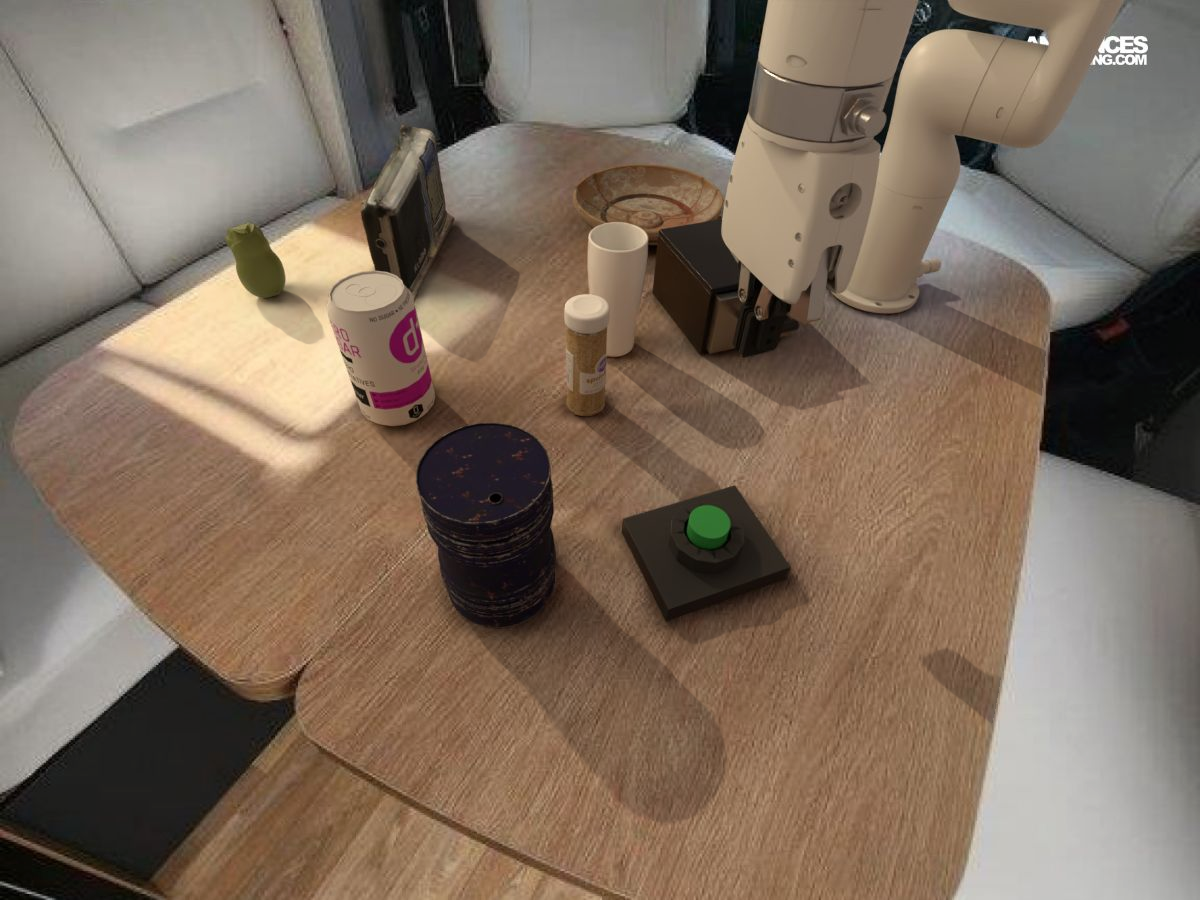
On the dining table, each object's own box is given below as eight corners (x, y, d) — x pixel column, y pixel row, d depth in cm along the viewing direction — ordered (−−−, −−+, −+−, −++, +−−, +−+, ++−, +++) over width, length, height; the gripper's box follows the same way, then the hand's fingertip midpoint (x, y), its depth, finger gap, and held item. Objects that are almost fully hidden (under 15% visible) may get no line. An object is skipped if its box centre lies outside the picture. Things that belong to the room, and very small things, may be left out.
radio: (410, 306, 84) (385, 198, 73) (350, 298, 85) (316, 190, 74) (468, 224, 100) (454, 125, 89) (416, 218, 101) (397, 119, 90)
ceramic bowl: (625, 179, 113) (627, 150, 109) (743, 218, 104) (749, 189, 100) (544, 228, 100) (542, 198, 96) (670, 278, 91) (674, 247, 87)
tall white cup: (634, 366, 77) (644, 255, 66) (581, 358, 78) (581, 247, 67) (643, 334, 81) (653, 225, 70) (592, 326, 82) (594, 218, 71)
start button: (715, 512, 57) (718, 500, 56) (734, 543, 55) (738, 531, 54) (679, 523, 56) (682, 511, 55) (698, 555, 54) (701, 543, 53)
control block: (731, 498, 63) (738, 472, 60) (785, 580, 57) (796, 555, 54) (621, 532, 60) (623, 506, 57) (665, 622, 54) (670, 598, 51)
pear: (256, 310, 83) (225, 240, 75) (241, 292, 85) (210, 223, 78) (298, 295, 85) (271, 226, 78) (282, 278, 88) (255, 210, 81)
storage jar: (434, 552, 58) (401, 441, 47) (535, 520, 61) (526, 407, 50) (462, 646, 52) (432, 543, 41) (573, 605, 55) (572, 499, 44)
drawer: (807, 355, 78) (825, 302, 72) (726, 375, 75) (739, 321, 69) (736, 281, 89) (747, 229, 83) (663, 295, 86) (669, 243, 80)
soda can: (448, 390, 73) (426, 276, 62) (412, 437, 68) (379, 323, 57) (388, 374, 75) (355, 261, 64) (347, 419, 69) (303, 304, 58)
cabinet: (785, 335, 82) (805, 270, 75) (700, 355, 79) (712, 288, 72) (730, 277, 91) (743, 214, 84) (652, 293, 88) (658, 229, 81)
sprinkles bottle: (598, 421, 70) (602, 322, 60) (560, 412, 71) (557, 313, 61) (610, 395, 73) (615, 297, 63) (573, 387, 74) (572, 288, 64)
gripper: (958, 141, 33) (849, 397, 47) (798, 54, 42) (747, 288, 56) (839, 162, 31) (762, 422, 45) (699, 66, 40) (671, 306, 54)
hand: (754, 347), depth 50 cm, fingers closed
